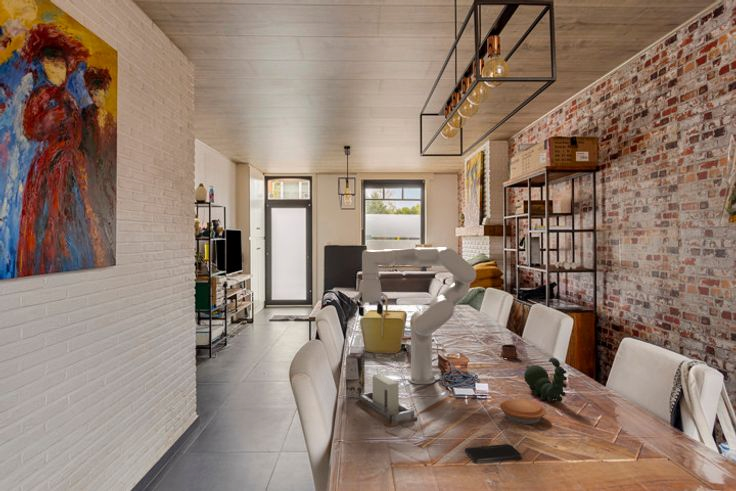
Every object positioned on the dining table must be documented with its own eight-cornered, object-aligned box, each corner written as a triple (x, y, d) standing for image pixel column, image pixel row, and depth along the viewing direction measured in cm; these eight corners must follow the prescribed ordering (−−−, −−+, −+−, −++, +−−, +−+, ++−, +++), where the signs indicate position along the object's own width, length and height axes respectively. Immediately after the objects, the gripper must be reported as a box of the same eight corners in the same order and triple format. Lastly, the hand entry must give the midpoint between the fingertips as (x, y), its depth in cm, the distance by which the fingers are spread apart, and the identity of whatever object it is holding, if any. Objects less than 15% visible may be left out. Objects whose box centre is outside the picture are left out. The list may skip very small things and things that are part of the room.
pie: (490, 413, 154) (490, 399, 154) (523, 406, 160) (523, 393, 160) (521, 430, 140) (521, 415, 140) (555, 422, 146) (555, 408, 146)
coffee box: (360, 398, 170) (360, 358, 170) (345, 397, 171) (345, 357, 171) (365, 390, 179) (365, 352, 178) (350, 389, 180) (350, 351, 180)
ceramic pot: (534, 360, 223) (533, 347, 223) (507, 364, 216) (507, 351, 217) (510, 353, 240) (510, 340, 240) (485, 357, 233) (485, 344, 233)
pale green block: (381, 402, 162) (381, 374, 162) (398, 413, 152) (398, 382, 152) (371, 404, 160) (371, 375, 160) (388, 415, 150) (388, 384, 150)
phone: (523, 456, 121) (474, 461, 119) (523, 460, 121) (474, 465, 119) (510, 443, 129) (463, 447, 127) (510, 447, 129) (463, 451, 127)
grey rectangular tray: (382, 398, 169) (382, 389, 169) (417, 419, 148) (417, 409, 148) (355, 403, 164) (355, 394, 164) (388, 427, 143) (388, 416, 143)
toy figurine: (571, 410, 160) (535, 383, 185) (574, 362, 158) (537, 341, 183) (549, 412, 159) (515, 384, 183) (551, 364, 157) (517, 342, 181)
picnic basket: (366, 341, 268) (366, 294, 268) (407, 342, 265) (407, 295, 265) (359, 353, 239) (359, 300, 239) (404, 354, 236) (404, 301, 236)
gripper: (381, 275, 198) (382, 312, 198) (349, 277, 189) (349, 315, 189) (390, 276, 192) (390, 314, 192) (358, 278, 183) (358, 317, 183)
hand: (370, 314), depth 191 cm, fingers open, 9 cm apart
